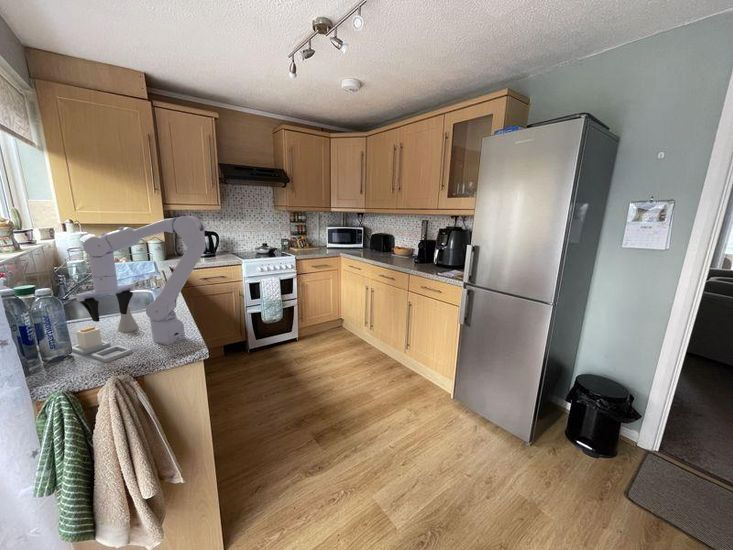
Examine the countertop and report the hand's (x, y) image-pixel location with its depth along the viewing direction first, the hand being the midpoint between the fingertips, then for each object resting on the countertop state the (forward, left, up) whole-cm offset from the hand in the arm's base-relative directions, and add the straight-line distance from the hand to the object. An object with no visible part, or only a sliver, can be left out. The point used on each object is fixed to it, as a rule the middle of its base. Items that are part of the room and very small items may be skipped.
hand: (110, 317), depth 97 cm
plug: (+2, +5, -9) cm, 10 cm away
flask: (+9, -9, -11) cm, 17 cm away
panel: (-3, +5, -10) cm, 12 cm away
